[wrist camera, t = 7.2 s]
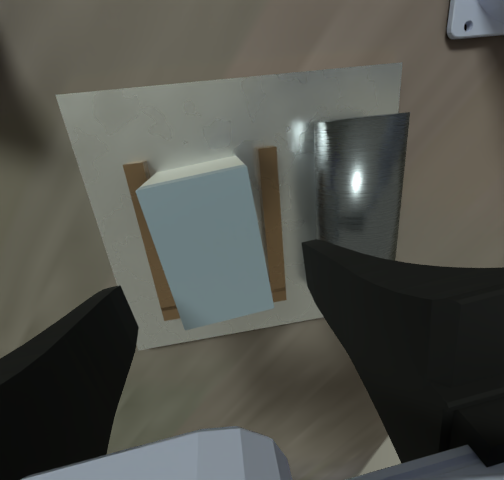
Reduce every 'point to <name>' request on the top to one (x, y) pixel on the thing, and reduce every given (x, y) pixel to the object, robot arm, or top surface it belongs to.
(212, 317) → the block
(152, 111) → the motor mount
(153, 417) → the top surface
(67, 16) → the top surface
